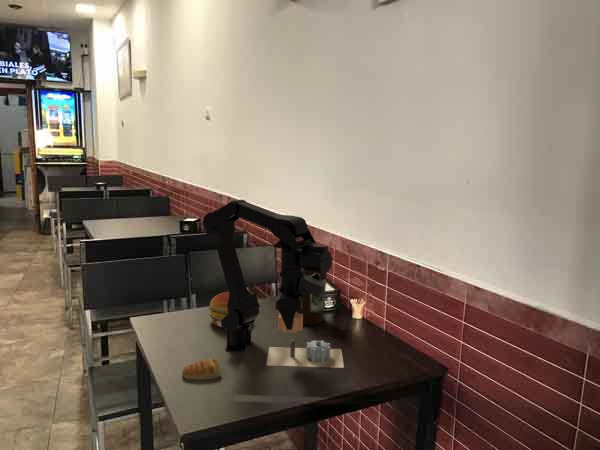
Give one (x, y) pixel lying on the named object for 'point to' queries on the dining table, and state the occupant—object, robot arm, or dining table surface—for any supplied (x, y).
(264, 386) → the dining table surface
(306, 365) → the gear board
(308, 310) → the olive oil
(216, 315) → the burger
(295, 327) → the gear
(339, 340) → the dining table surface
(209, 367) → the pastry
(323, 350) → the gear
